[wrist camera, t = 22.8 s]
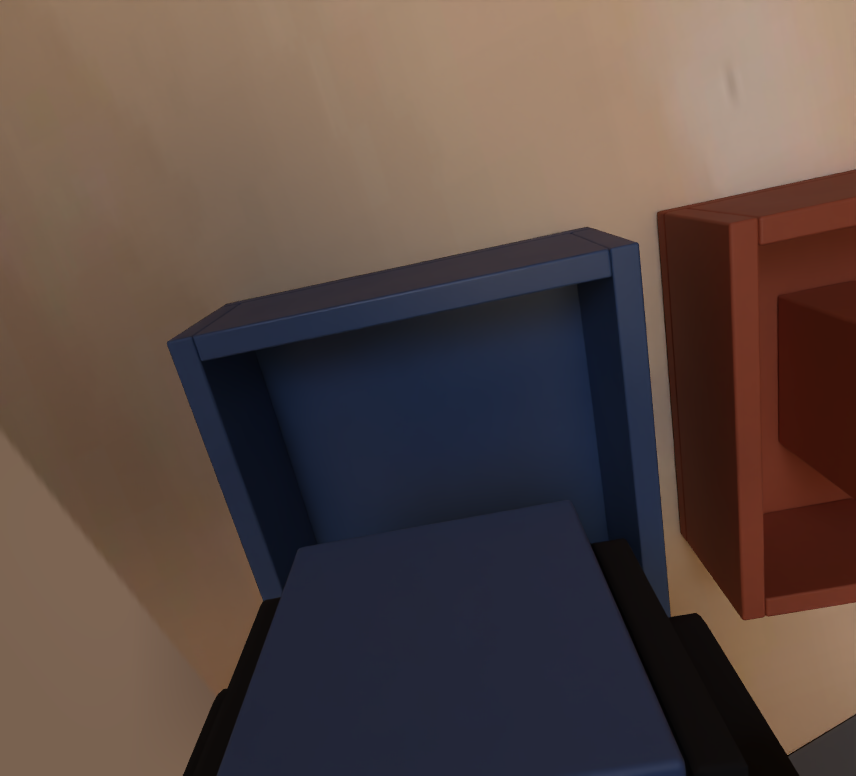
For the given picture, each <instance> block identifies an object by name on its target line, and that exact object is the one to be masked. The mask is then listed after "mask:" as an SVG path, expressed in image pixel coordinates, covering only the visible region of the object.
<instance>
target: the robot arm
mask: <svg viewBox="0 0 856 776" xmlns="http://www.w3.org/2000/svg"><path fill="white" fill-rule="evenodd" d="M591 547H592V549H593V552H594V554H595V556H596V559H597V561H598V563H599V566H600V568H601V570H602V573H603V575H604V577H605V579H606V582H607V584H608V586H609V589H610V591H611V593H612V596H613V598H614V600H615V602H616V605H617V607H618V609H619V612H620V614H621V616H622V619H623V621H624V623H625V625H626V628H627V630H628V632H629V635H630V637H631V639H632V642H633V644H634V646H635V648H636V651H637V653H638V655H639V658H640V660H641V662H642V665H643V667H644V669H645V672H646V674H647V676H648V678H649V681H650V683H651V685H652V688H653V690H654V692H655V695H656V697H657V699H658V701H659V704H660V706H661V708H662V711H663V713H664V715H665V718H666V720H667V722H668V724H669V727H670V729H671V731H672V734H673V736H674V738H675V741H676V743H677V745H678V747H679V750H680V752H681V754H682V757H683V759H684V761H685V769H686V776H800V775H799V774H798V772H797V771H796V769H795V767H794V766H793V764H792V762H791V761H790V759H789V758H788V756H787V754H786V753H785V751H784V749H783V748H782V746H781V745H780V743H779V741H778V740H777V738H776V736H775V735H774V733H773V732H772V730H771V728H770V727H769V725H768V723H767V722H766V720H765V719H764V717H763V715H762V714H761V712H760V710H759V709H758V707H757V706H756V704H755V702H754V701H753V699H752V697H751V696H750V694H749V693H748V691H747V689H746V688H745V686H744V684H743V683H742V681H741V680H740V678H739V676H738V675H737V673H736V671H735V670H734V668H733V667H732V665H731V663H730V662H729V660H728V658H727V657H726V655H725V654H724V652H723V650H722V649H721V647H720V645H719V644H718V642H717V641H716V639H715V637H714V636H713V634H712V632H711V631H710V629H709V628H708V626H707V624H706V623H705V622H704V620H703V619H702V617H701V616H700V615H698V614H697V613H693V614H687V615H680V616H674V617H668V616H667V614H666V613H665V611H664V609H663V607H662V605H661V603H660V601H659V600H658V598H657V596H656V594H655V592H654V590H653V588H652V586H651V585H650V583H649V581H648V579H647V577H646V575H645V573H644V572H643V570H642V568H641V566H640V564H639V562H638V560H637V559H636V557H635V555H634V553H633V551H632V549H631V547H630V546H629V544H628V542H627V541H626V539H624V538H622V539H616V540H610V541H604V542H598V543H592V544H591ZM280 598H281V597H279V598H273V599H268V600H265V601H263V602H262V604H261V606H260V608H259V611H258V613H257V616H256V618H255V621H254V623H253V626H252V628H251V631H250V633H249V636H248V639H247V641H246V644H245V646H244V649H243V651H242V654H241V656H240V659H239V661H238V664H237V666H236V669H235V671H234V674H233V676H232V679H231V681H230V684H229V686H228V689H223V690H222V691H221V692H220V693H219V694H218V695H217V697H216V699H215V700H214V702H213V704H212V707H211V709H210V712H209V714H208V716H207V719H206V721H205V724H204V726H203V728H202V731H201V733H200V736H199V738H198V740H197V743H196V746H195V748H194V750H193V753H192V755H191V757H190V760H189V762H188V765H187V767H186V770H185V772H184V774H183V776H217V773H218V771H219V768H220V765H221V762H222V759H223V757H224V754H225V751H226V748H227V746H228V743H229V740H230V737H231V734H232V732H233V729H234V726H235V723H236V721H237V718H238V715H239V712H240V709H241V707H242V704H243V701H244V698H245V695H246V693H247V690H248V687H249V684H250V682H251V679H252V676H253V673H254V670H255V668H256V665H257V662H258V659H259V657H260V654H261V651H262V648H263V645H264V643H265V640H266V637H267V634H268V631H269V629H270V626H271V623H272V620H273V618H274V615H275V612H276V609H277V606H278V604H279V601H280Z"/></svg>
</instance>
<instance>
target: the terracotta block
mask: <svg viewBox="0 0 856 776" xmlns="http://www.w3.org/2000/svg"><path fill="white" fill-rule="evenodd" d="M778 340H779V442H780V443H781V444H782V445H783V446H785V447H786V448H787V449H789V450H790V451H791V452H793V453H794V454H795V455H797V456H798V457H799V458H801V459H802V460H803V461H804V462H806V463H807V464H808V465H810V466H811V467H812V468H814V469H815V470H816V471H818V472H819V473H820V474H822V475H823V476H824V477H826V478H827V479H828V480H830V481H831V482H832V483H833V484H835V485H836V486H837V487H839V488H840V489H841V490H843V491H844V492H845V493H847V494H848V495H849V496H851V497H852V498H853V499H855V500H856V280H853V281H848V282H843V283H838V284H833V285H828V286H823V287H818V288H813V289H808V290H803V291H798V292H793V293H788V294H783V295H780V296H779V297H778Z"/></svg>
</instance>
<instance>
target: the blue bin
mask: <svg viewBox="0 0 856 776" xmlns="http://www.w3.org/2000/svg"><path fill="white" fill-rule="evenodd" d="M167 346H168V348H169V351H170V354H171V356H172V359H173V362H174V364H175V367H176V370H177V372H178V375H179V378H180V380H181V383H182V386H183V388H184V391H185V394H186V396H187V399H188V402H189V404H190V407H191V410H192V412H193V415H194V418H195V420H196V423H197V426H198V428H199V431H200V434H201V436H202V439H203V442H204V444H205V447H206V450H207V452H208V455H209V458H210V460H211V463H212V466H213V468H214V471H215V474H216V476H217V479H218V482H219V484H220V487H221V490H222V492H223V495H224V498H225V500H226V503H227V506H228V508H229V511H230V514H231V516H232V519H233V522H234V524H235V527H236V530H237V532H238V535H239V538H240V540H241V543H242V546H243V548H244V551H245V554H246V556H247V559H248V562H249V564H250V567H251V570H252V572H253V575H254V578H255V580H256V583H257V586H258V588H259V591H260V594H261V596H262V599H263V601H265V600H268V599H273V598H279V597H281V595H282V593H283V590H284V587H285V584H286V581H287V579H288V576H289V573H290V570H291V567H292V565H293V562H294V559H295V556H296V554H297V551H298V549H299V548H301V547H305V546H311V545H316V544H322V543H327V542H333V541H339V540H344V539H350V538H355V537H361V536H367V535H372V534H378V533H383V532H389V531H395V530H400V529H406V528H411V527H417V526H423V525H428V524H434V523H439V522H445V521H451V520H456V519H462V518H467V517H473V516H479V515H484V514H490V513H495V512H501V511H507V510H512V509H518V508H523V507H529V506H535V505H540V504H546V503H551V502H557V501H563V500H570V501H571V502H572V504H573V506H574V508H575V510H576V513H577V515H578V517H579V520H580V522H581V524H582V526H583V529H584V531H585V533H586V536H587V538H588V540H589V543H590V545H591V544H592V543H598V542H604V541H610V540H616V539H622V538H624V539H626V541H627V542H628V544H629V546H630V547H631V549H632V551H633V553H634V555H635V557H636V559H637V560H638V562H639V564H640V566H641V568H642V570H643V572H644V573H645V575H646V577H647V579H648V581H649V583H650V585H651V586H652V588H653V590H654V592H655V594H656V596H657V598H658V600H659V601H660V603H661V605H662V607H663V609H664V611H665V613H666V614H667V616H668V617H671V614H670V602H669V591H668V579H667V567H666V556H665V544H664V532H663V521H662V509H661V497H660V486H659V474H658V462H657V451H656V439H655V427H654V416H653V404H652V393H651V381H650V369H649V358H648V346H647V334H646V323H645V311H644V299H643V288H642V276H641V264H640V253H639V244H638V243H637V242H634V241H630V240H627V239H624V238H621V237H618V236H615V235H612V234H609V233H605V232H602V231H599V230H596V229H593V228H589V227H584V228H580V229H575V230H570V231H566V232H561V233H556V234H551V235H547V236H542V237H537V238H533V239H528V240H523V241H519V242H514V243H509V244H505V245H500V246H495V247H491V248H486V249H481V250H476V251H472V252H467V253H462V254H458V255H453V256H448V257H444V258H439V259H434V260H430V261H425V262H420V263H416V264H411V265H406V266H401V267H397V268H392V269H387V270H383V271H378V272H373V273H369V274H364V275H359V276H355V277H350V278H345V279H341V280H336V281H331V282H326V283H322V284H317V285H312V286H308V287H303V288H298V289H294V290H289V291H284V292H280V293H275V294H270V295H266V296H261V297H256V298H251V299H247V300H242V301H237V302H233V303H228V304H225V305H224V306H222V307H221V308H219V309H218V310H216V311H214V312H213V313H211V314H210V315H208V316H207V317H205V318H204V319H202V320H200V321H199V322H197V323H196V324H194V325H193V326H191V327H189V328H188V329H186V330H185V331H183V332H182V333H180V334H178V335H177V336H175V337H174V338H172V339H171V340H169V341H168V342H167Z"/></svg>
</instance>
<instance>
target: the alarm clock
mask: <svg viewBox="0 0 856 776" xmlns="http://www.w3.org/2000/svg"><path fill="white" fill-rule="evenodd" d="M788 758H789V759H790V761H791V762H792V764H793V766H794V767H795V769H796V771H797V772H798V774H799V775H800V776H856V715H855V716H854V717H852V718H850V719H849V720H847V721H846V722H844V723H842V724H841V725H839V726H837V727H836V728H834V729H832V730H831V731H829V732H827V733H826V734H824V735H822V736H821V737H819V738H818V739H816V740H814V741H813V742H811V743H809V744H808V745H806V746H804V747H803V748H801V749H799V750H798V751H796V752H794V753H793V754H791V755H789V756H788Z"/></svg>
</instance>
